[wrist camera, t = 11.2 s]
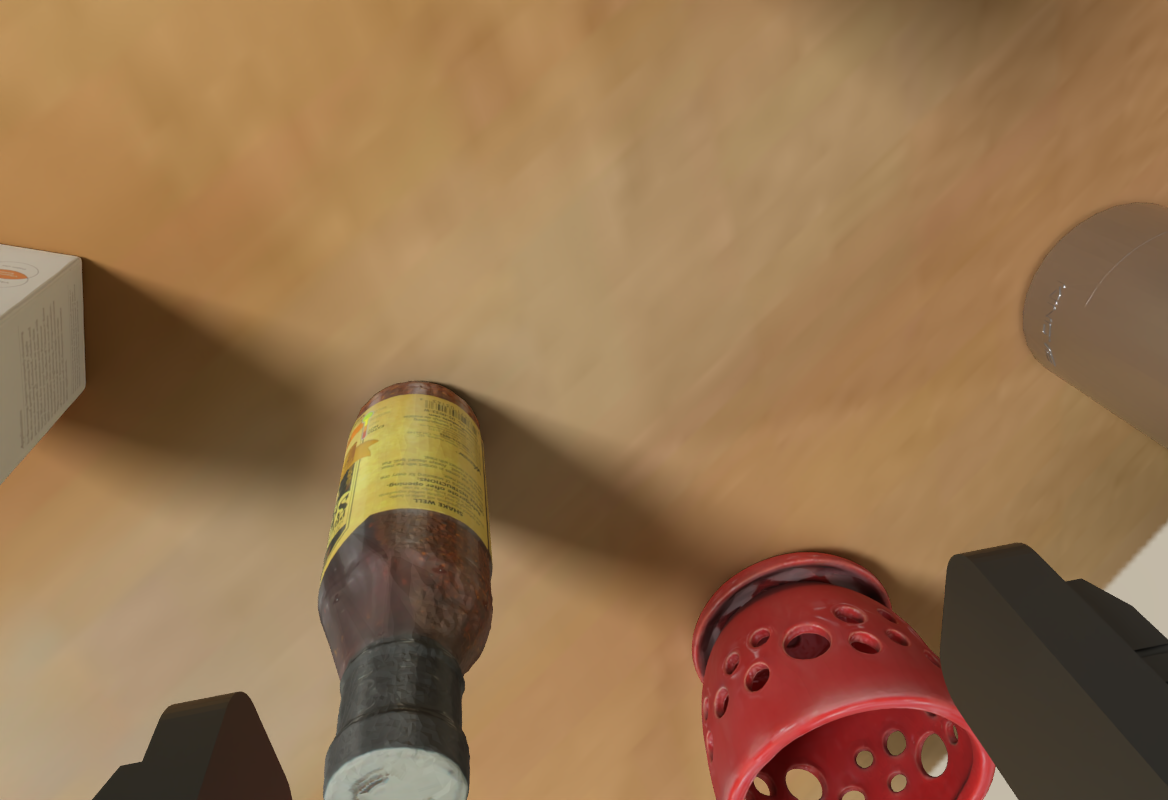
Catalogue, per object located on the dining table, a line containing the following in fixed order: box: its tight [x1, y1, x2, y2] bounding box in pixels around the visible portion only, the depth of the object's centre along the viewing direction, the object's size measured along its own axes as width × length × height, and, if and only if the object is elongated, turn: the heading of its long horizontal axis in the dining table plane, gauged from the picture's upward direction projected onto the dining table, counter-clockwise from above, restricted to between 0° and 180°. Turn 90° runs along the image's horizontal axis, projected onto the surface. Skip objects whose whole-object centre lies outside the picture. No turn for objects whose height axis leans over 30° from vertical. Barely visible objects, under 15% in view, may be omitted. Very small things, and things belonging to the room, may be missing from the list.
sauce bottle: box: [318, 381, 493, 800], centre depth 32 cm, size 7×6×20 cm
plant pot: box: [692, 552, 996, 800], centre depth 44 cm, size 13×13×12 cm
